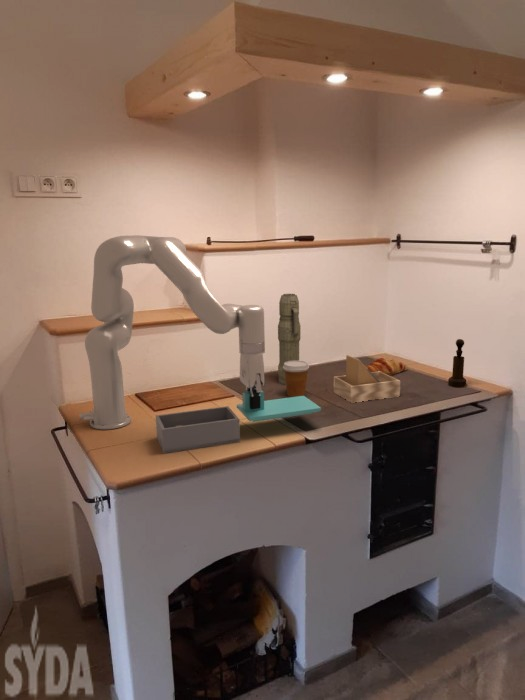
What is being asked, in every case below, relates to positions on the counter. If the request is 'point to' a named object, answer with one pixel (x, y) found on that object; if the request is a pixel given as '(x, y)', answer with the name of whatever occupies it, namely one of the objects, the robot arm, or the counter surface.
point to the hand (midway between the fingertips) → (253, 406)
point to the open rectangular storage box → (368, 388)
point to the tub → (197, 429)
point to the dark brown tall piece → (458, 367)
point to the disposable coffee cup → (295, 377)
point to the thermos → (288, 332)
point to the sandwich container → (358, 373)
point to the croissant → (386, 366)
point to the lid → (276, 407)
